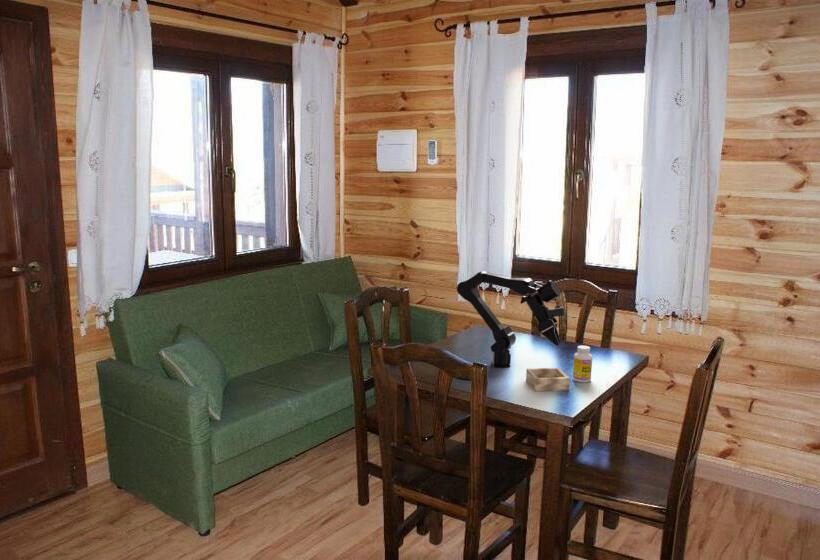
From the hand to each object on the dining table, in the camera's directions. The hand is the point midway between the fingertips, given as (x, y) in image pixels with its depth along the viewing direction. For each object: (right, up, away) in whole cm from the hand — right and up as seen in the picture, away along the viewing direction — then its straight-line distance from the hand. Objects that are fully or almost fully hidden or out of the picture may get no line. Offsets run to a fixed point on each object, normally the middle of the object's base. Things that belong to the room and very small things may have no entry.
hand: (558, 343), depth 267 cm
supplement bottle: (+8, -14, -4) cm, 16 cm away
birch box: (-7, -14, -11) cm, 19 cm away
